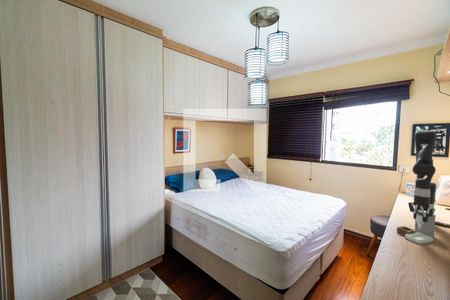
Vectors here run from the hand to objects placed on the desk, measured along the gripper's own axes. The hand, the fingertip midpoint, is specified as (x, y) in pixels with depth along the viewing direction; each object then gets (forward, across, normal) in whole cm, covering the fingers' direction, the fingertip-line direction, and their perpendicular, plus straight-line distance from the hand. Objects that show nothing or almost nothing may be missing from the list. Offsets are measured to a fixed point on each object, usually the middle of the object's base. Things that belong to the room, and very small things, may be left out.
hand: (420, 220), depth 133 cm
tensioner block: (+13, +8, 0) cm, 15 cm away
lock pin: (+5, 0, 0) cm, 5 cm away
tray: (+13, 0, 0) cm, 13 cm away
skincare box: (+13, +4, -12) cm, 19 cm away
